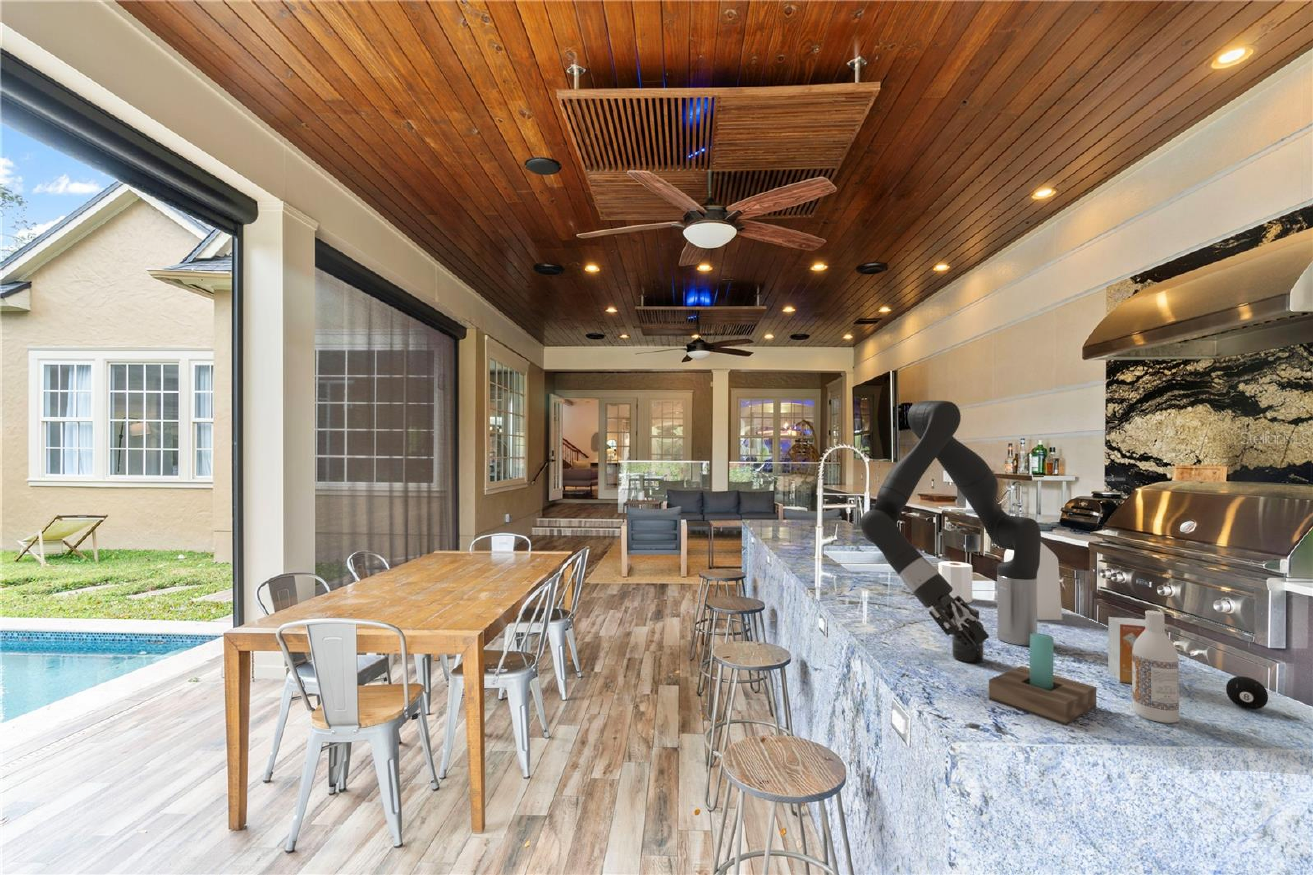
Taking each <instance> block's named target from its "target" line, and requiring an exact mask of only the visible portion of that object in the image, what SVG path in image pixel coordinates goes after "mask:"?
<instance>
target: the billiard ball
mask: <svg viewBox="0 0 1313 875" xmlns="http://www.w3.org/2000/svg"><path fill="white" fill-rule="evenodd" d="M1225 691H1226V692H1225V693H1226V694H1227V697H1228V698H1229V700H1230V701H1231V702H1232V703H1234V704H1235V705H1236V706H1238V707H1240V708H1242V709H1243V708H1244V709H1247V710H1259V709H1263V708H1264V707H1265V706H1266V704H1268V701H1269V693H1268V691H1267V689H1266V688H1265V686H1264V685H1263V684H1262V683H1261V682H1259V681H1258V680H1256V679H1254V678H1251V677H1248V676H1247V677H1246V676H1233V677H1231V678H1230V679H1229V680H1228V681H1227V683H1226V686H1225Z"/></svg>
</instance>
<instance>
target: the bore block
mask: <svg viewBox="0 0 1313 875" xmlns="http://www.w3.org/2000/svg"><path fill="white" fill-rule="evenodd" d="M988 700H990V701H992V702H996V703H998V704H1002V705H1004V706H1005V705H1006V706H1007V707H1011V708H1013V709H1017V710H1019V711H1022V712H1026V713H1029V714H1031V715H1034V716H1038V717H1040V718H1043V719H1046V720H1049V721H1052V722H1055V723H1058V724H1061V725H1064V726H1067V725H1069V724H1071V723H1072V722H1075V721H1076V720H1078V719H1079V718H1081V717H1082V716H1084V715H1086V714H1088V713H1089V712H1091V711H1092V710H1094V709H1096V708H1097V687H1096V686H1094V685H1090V684H1087V683H1083V682H1080V681H1076V680H1073V679H1069V678H1065V677H1062V676H1058V675H1056V674H1053V690H1052V691H1049V690H1046V689H1042V688H1039V687H1036V686H1032V685H1030V667H1027V666H1023V665H1020V666H1018V667H1016V668H1012V669H1011V670H1008V671H1006V672H1004V673H1001V674H999V675H997V676H993V677H992V678H990V679H988Z"/></svg>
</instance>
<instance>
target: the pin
mask: <svg viewBox="0 0 1313 875" xmlns="http://www.w3.org/2000/svg"><path fill="white" fill-rule="evenodd" d="M1029 668H1030V685H1032V686H1036V687H1039V688H1042V689H1046V690H1049V691H1052V690H1053V675H1054V637H1053V636H1051V635H1049V634H1046V633H1038V632H1037V633H1031V634H1030V645H1029Z"/></svg>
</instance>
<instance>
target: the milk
mask: <svg viewBox="0 0 1313 875" xmlns="http://www.w3.org/2000/svg"><path fill="white" fill-rule="evenodd" d="M1013 556H1014V550H1008V549H1005V551H1004V555H1003V562H1008V561H1011V560H1012V559H1013ZM1059 565H1060V564H1059V558H1058V556H1057V555H1056V554H1055V553H1054V552H1053V551H1052V550H1051V549H1050V548H1048V546H1046V544H1044V543H1043V542H1042V541H1041V548H1040V564H1039V568H1038V571H1037V621H1038V620H1039V621H1043V620H1044V621H1047V620H1048V621H1063V610H1062V609H1063V608H1062V597H1061V596H1062V594H1061V581H1060V567H1059Z"/></svg>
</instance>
